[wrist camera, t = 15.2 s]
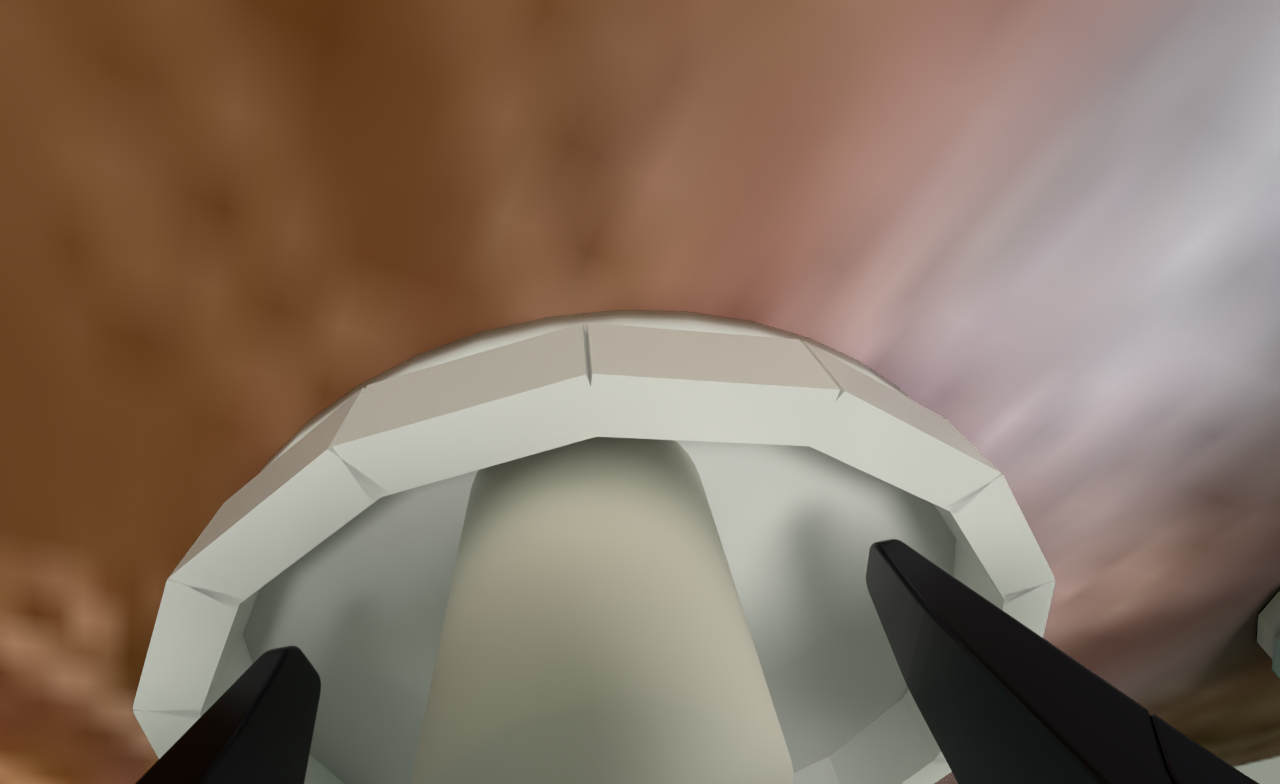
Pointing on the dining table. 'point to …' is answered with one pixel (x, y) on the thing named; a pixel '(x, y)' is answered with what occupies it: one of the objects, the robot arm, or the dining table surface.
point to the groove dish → (561, 415)
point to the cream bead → (596, 632)
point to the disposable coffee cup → (1270, 632)
